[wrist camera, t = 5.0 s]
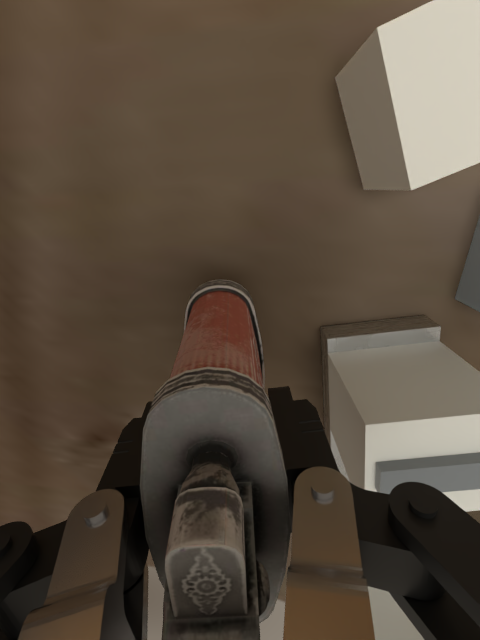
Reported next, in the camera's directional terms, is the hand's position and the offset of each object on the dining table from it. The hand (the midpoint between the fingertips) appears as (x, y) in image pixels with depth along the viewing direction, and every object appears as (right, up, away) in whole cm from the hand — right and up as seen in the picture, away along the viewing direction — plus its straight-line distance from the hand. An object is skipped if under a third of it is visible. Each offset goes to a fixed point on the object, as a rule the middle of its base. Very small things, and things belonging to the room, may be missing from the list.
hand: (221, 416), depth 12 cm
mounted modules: (+11, -10, +14) cm, 21 cm away
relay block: (+9, +15, +7) cm, 18 cm away
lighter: (0, +1, +3) cm, 3 cm away
